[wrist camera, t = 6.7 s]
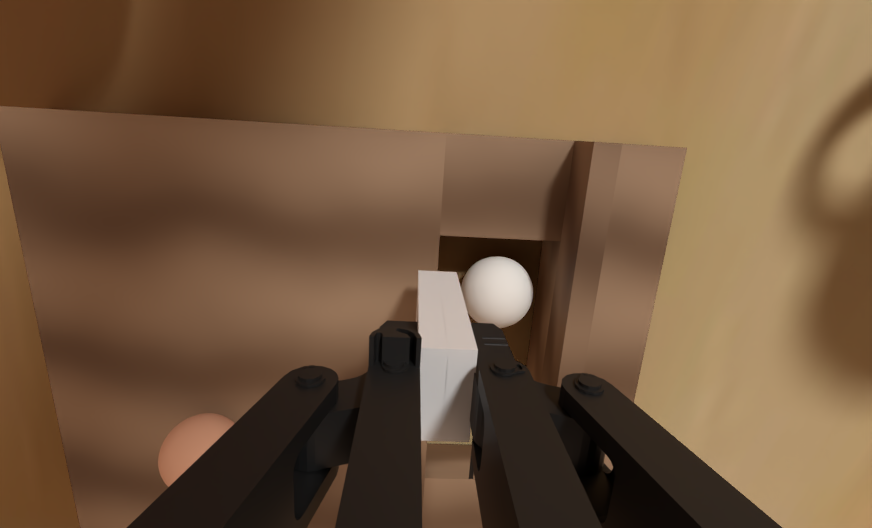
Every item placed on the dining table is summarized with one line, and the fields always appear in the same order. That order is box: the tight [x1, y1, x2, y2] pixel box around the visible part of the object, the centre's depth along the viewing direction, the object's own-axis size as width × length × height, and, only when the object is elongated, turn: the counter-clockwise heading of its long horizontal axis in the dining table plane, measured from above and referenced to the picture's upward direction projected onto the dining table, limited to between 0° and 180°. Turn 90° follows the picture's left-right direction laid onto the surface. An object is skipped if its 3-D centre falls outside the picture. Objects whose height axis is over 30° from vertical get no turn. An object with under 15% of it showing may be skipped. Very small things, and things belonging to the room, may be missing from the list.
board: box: [0, 106, 687, 528], centre depth 20 cm, size 20×26×4 cm
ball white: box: [461, 256, 533, 328], centre depth 20 cm, size 3×3×3 cm
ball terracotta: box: [158, 413, 235, 487], centre depth 19 cm, size 3×3×3 cm
